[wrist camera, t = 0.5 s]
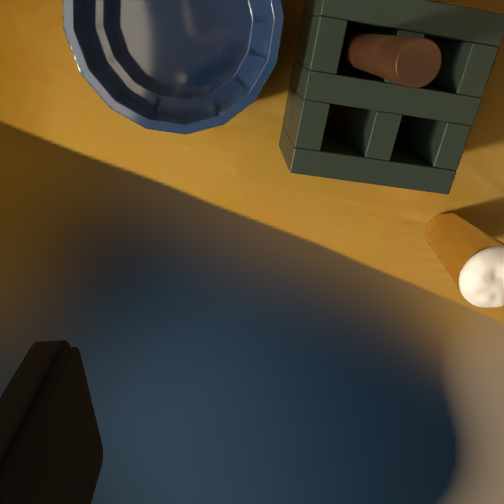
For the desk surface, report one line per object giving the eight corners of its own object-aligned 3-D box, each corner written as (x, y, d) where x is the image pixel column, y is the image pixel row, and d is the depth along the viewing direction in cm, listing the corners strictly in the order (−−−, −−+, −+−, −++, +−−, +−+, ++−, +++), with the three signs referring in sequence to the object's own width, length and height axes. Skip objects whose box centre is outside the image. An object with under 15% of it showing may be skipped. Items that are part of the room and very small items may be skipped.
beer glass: (479, 250, 40) (551, 316, 31) (416, 258, 40) (470, 326, 31) (484, 199, 38) (563, 254, 29) (418, 208, 38) (476, 265, 29)
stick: (329, 28, 32) (403, 34, 19) (356, 33, 33) (448, 42, 19) (323, 58, 33) (390, 84, 20) (350, 63, 33) (433, 91, 20)
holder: (306, -11, 31) (326, -19, 25) (456, 16, 32) (511, 15, 26) (278, 146, 36) (289, 173, 29) (411, 165, 37) (449, 194, 30)
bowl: (89, -107, 29) (60, -133, 24) (289, -68, 30) (301, -86, 25) (88, 103, 34) (64, 117, 29) (258, 128, 35) (263, 145, 30)
